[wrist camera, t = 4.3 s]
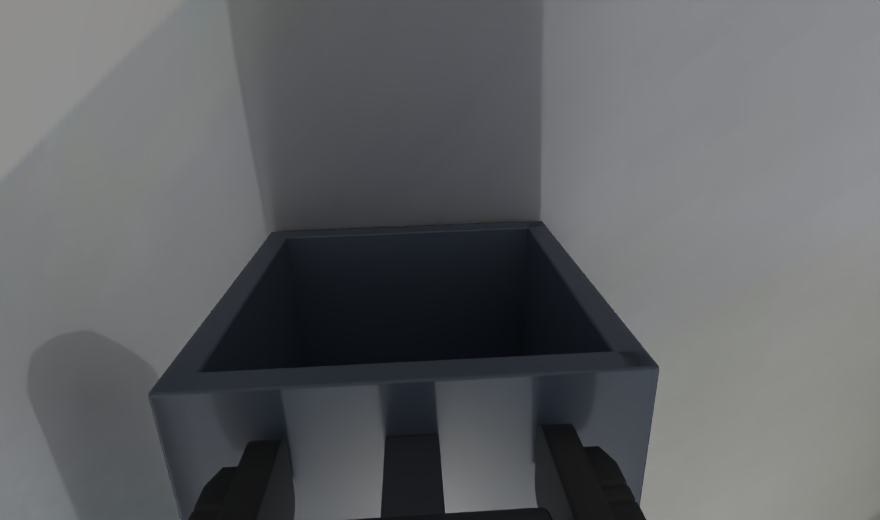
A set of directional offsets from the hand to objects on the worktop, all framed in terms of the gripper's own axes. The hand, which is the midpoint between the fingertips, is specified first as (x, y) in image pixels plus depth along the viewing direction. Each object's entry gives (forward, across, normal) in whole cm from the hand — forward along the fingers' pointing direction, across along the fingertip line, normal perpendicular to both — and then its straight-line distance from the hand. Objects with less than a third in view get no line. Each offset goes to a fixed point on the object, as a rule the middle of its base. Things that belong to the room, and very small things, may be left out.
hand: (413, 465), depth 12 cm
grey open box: (+4, 0, +7) cm, 8 cm away
